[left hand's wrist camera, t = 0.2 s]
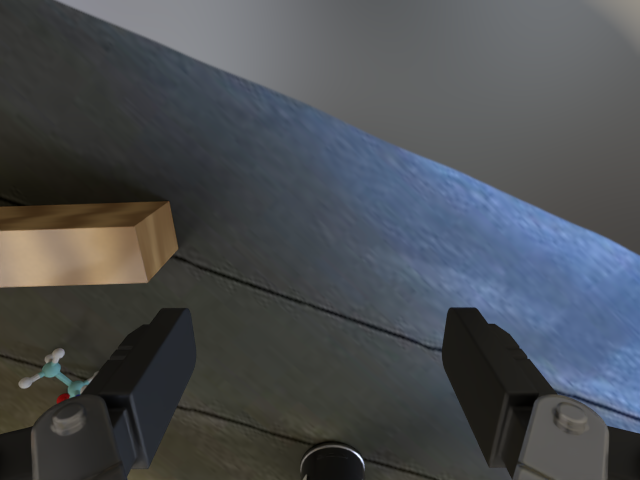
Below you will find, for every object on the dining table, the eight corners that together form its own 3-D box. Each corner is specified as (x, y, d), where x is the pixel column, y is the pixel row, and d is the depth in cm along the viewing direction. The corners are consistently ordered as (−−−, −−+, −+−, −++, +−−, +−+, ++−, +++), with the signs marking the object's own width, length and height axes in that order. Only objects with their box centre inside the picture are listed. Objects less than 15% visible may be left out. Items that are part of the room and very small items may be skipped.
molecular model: (-14, 370, 44) (-23, 437, 36) (68, 323, 47) (74, 377, 40) (51, 415, 51) (54, 480, 43) (119, 372, 54) (132, 425, 47)
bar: (169, 201, 40) (134, 226, 32) (178, 248, 42) (147, 282, 34) (-73, 209, 40) (-163, 236, 33) (-52, 256, 42) (-133, 291, 35)
